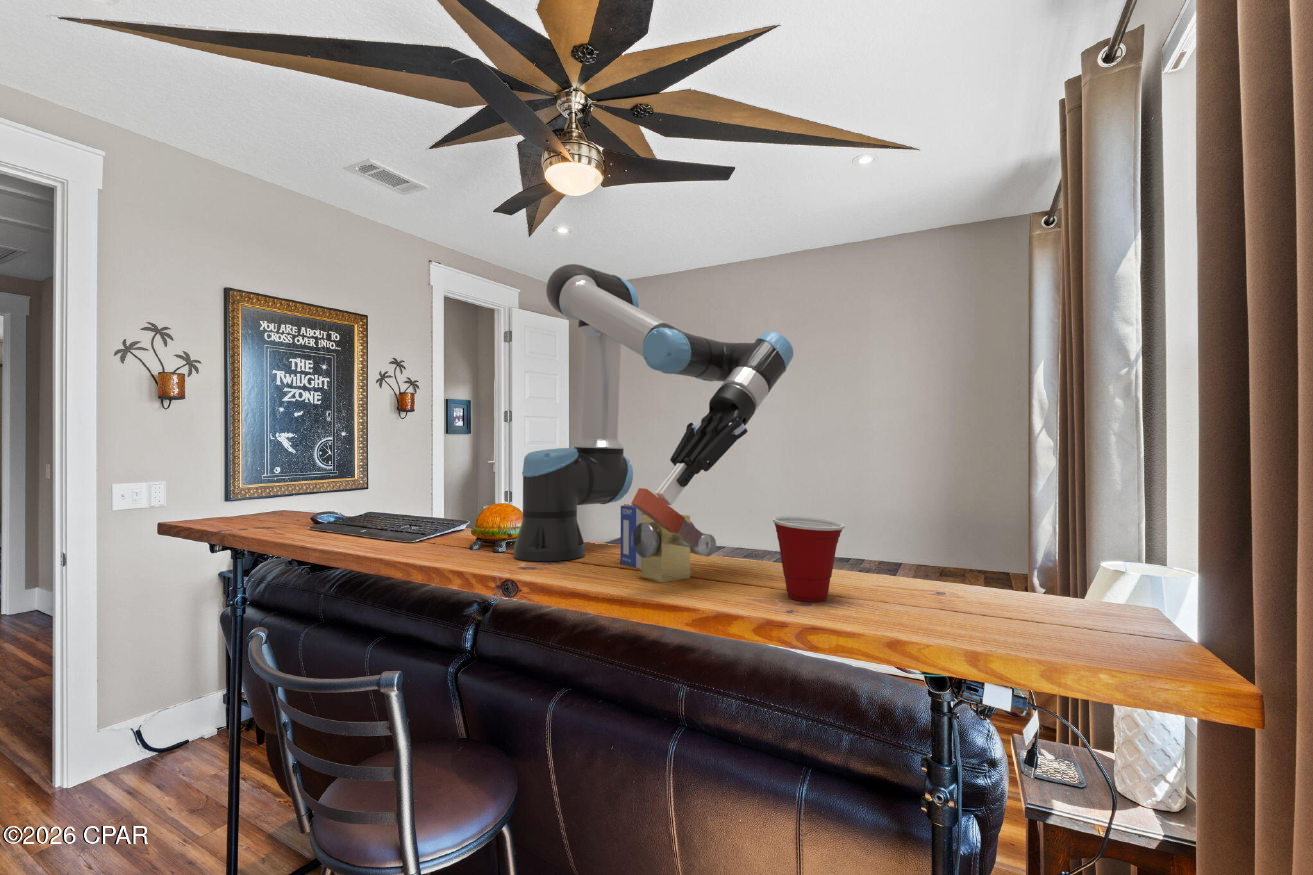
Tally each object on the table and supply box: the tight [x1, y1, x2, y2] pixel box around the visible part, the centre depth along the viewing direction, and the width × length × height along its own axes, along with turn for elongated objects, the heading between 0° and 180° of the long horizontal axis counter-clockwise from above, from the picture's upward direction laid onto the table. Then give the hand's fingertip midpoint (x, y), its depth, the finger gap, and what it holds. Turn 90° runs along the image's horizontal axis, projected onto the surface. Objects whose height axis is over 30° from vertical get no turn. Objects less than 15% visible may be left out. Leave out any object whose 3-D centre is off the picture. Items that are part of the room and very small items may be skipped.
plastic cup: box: [772, 515, 846, 603], centre depth 88 cm, size 11×11×12 cm
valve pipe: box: [633, 514, 696, 583], centre depth 101 cm, size 11×10×11 cm
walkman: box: [619, 503, 645, 570], centre depth 115 cm, size 8×3×12 cm, turn 35°
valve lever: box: [630, 487, 717, 557], centre depth 92 cm, size 2×4×17 cm
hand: (663, 499), depth 90 cm, fingers closed
